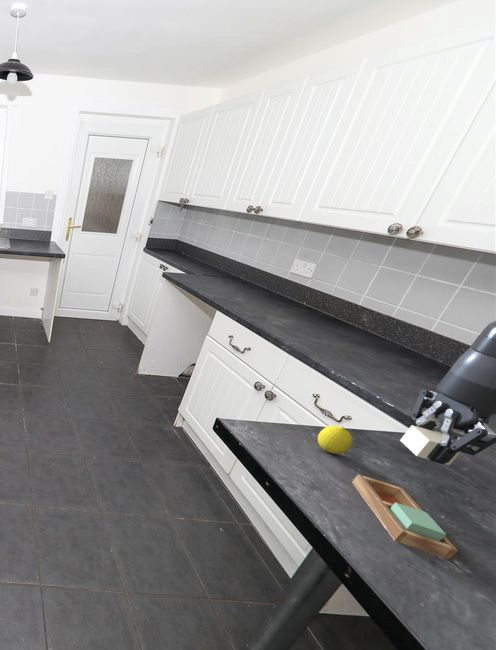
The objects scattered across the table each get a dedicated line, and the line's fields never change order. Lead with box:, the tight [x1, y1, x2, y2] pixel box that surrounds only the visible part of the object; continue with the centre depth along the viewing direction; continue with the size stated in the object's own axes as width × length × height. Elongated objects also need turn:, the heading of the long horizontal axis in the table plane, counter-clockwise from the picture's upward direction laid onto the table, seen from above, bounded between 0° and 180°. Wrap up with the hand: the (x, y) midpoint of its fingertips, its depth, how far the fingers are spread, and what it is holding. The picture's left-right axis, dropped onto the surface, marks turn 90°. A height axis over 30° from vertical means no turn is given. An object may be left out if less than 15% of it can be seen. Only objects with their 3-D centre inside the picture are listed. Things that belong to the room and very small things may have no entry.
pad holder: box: [351, 473, 459, 561], centre depth 66 cm, size 7×14×3 cm, turn 157°
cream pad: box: [399, 424, 462, 466], centre depth 64 cm, size 5×5×4 cm
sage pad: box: [389, 503, 447, 541], centre depth 63 cm, size 5×5×4 cm
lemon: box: [317, 425, 354, 455], centre depth 81 cm, size 6×6×8 cm
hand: (424, 451), depth 64 cm, fingers closed on cream pad, 4 cm apart
